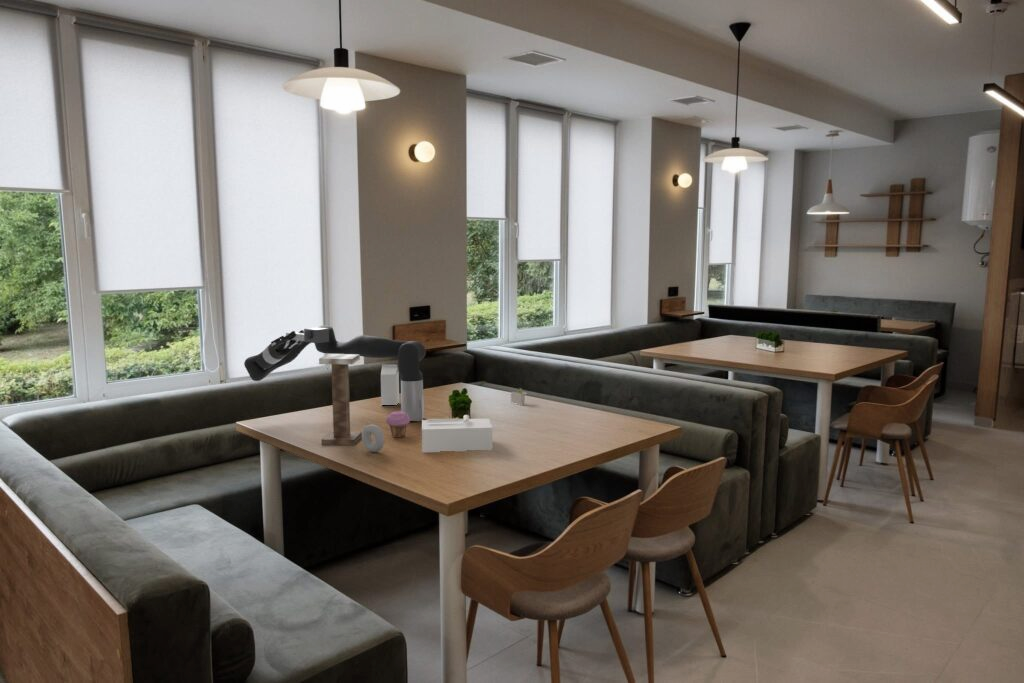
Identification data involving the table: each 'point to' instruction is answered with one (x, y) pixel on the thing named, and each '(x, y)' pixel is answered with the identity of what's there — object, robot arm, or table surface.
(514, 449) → the table surface
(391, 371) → the milk carton
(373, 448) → the donut
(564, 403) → the table surface
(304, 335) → the grey block with knob
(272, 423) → the table surface
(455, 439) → the tissue box
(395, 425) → the cupcake
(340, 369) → the stand
